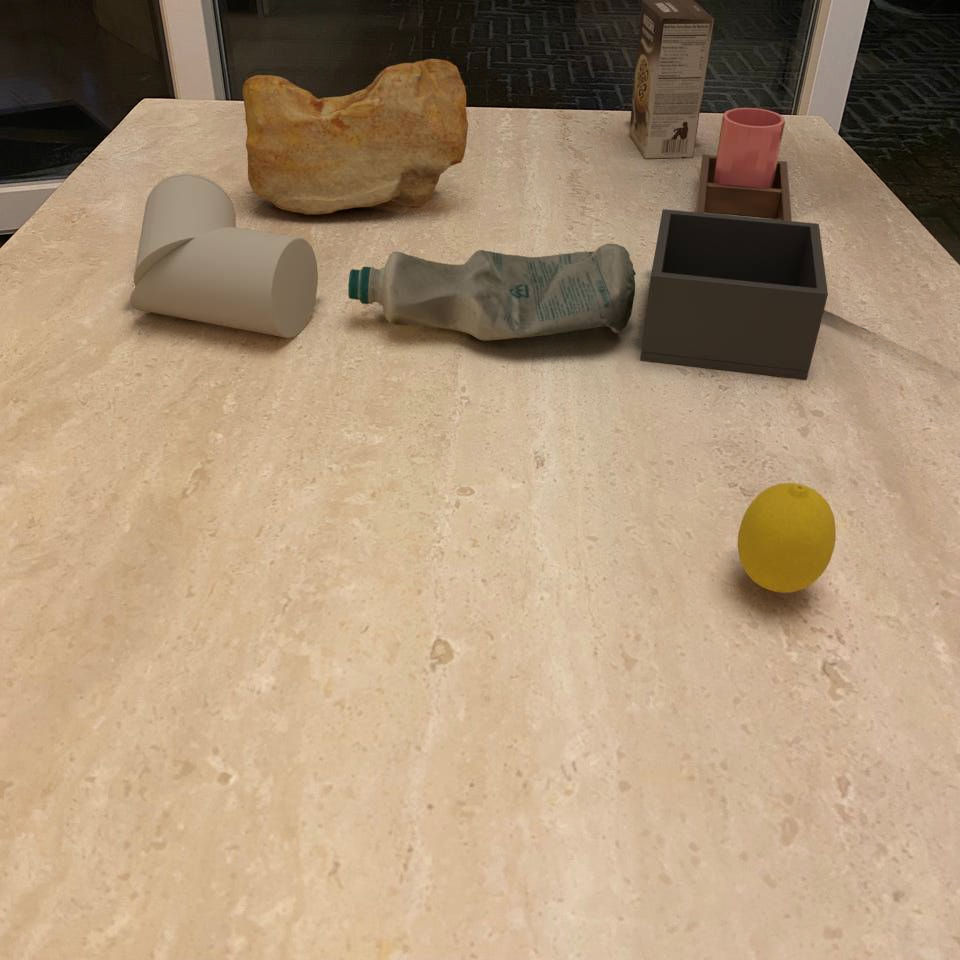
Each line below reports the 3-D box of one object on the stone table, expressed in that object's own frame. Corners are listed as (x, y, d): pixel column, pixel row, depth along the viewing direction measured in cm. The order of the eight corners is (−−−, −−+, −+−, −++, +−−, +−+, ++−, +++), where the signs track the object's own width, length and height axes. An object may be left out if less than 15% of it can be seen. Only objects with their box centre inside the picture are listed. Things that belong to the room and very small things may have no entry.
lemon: (721, 605, 61) (743, 503, 56) (736, 549, 65) (758, 450, 60) (813, 629, 60) (845, 527, 55) (823, 570, 64) (853, 470, 59)
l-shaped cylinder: (56, 314, 86) (263, 354, 81) (43, 189, 82) (261, 223, 77) (175, 271, 102) (354, 303, 97) (169, 164, 97) (357, 191, 92)
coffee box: (626, 134, 128) (640, -3, 118) (675, 132, 129) (693, -4, 119) (643, 159, 121) (659, 16, 111) (695, 158, 122) (715, 15, 112)
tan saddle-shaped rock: (468, 173, 119) (464, 38, 111) (471, 218, 105) (466, 67, 97) (273, 179, 119) (255, 44, 111) (249, 225, 105) (226, 74, 97)
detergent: (626, 288, 94) (360, 277, 94) (636, 219, 89) (356, 207, 89) (638, 372, 84) (341, 359, 84) (650, 299, 79) (336, 286, 79)
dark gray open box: (652, 287, 94) (662, 208, 90) (800, 303, 92) (818, 223, 88) (640, 360, 84) (650, 275, 79) (806, 379, 82) (828, 293, 77)
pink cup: (736, 183, 115) (750, 104, 110) (780, 201, 111) (797, 119, 106) (698, 196, 112) (710, 115, 107) (742, 214, 108) (757, 131, 103)
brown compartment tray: (781, 187, 115) (787, 161, 113) (786, 253, 101) (792, 225, 99) (699, 179, 116) (702, 154, 114) (691, 243, 102) (696, 216, 100)
